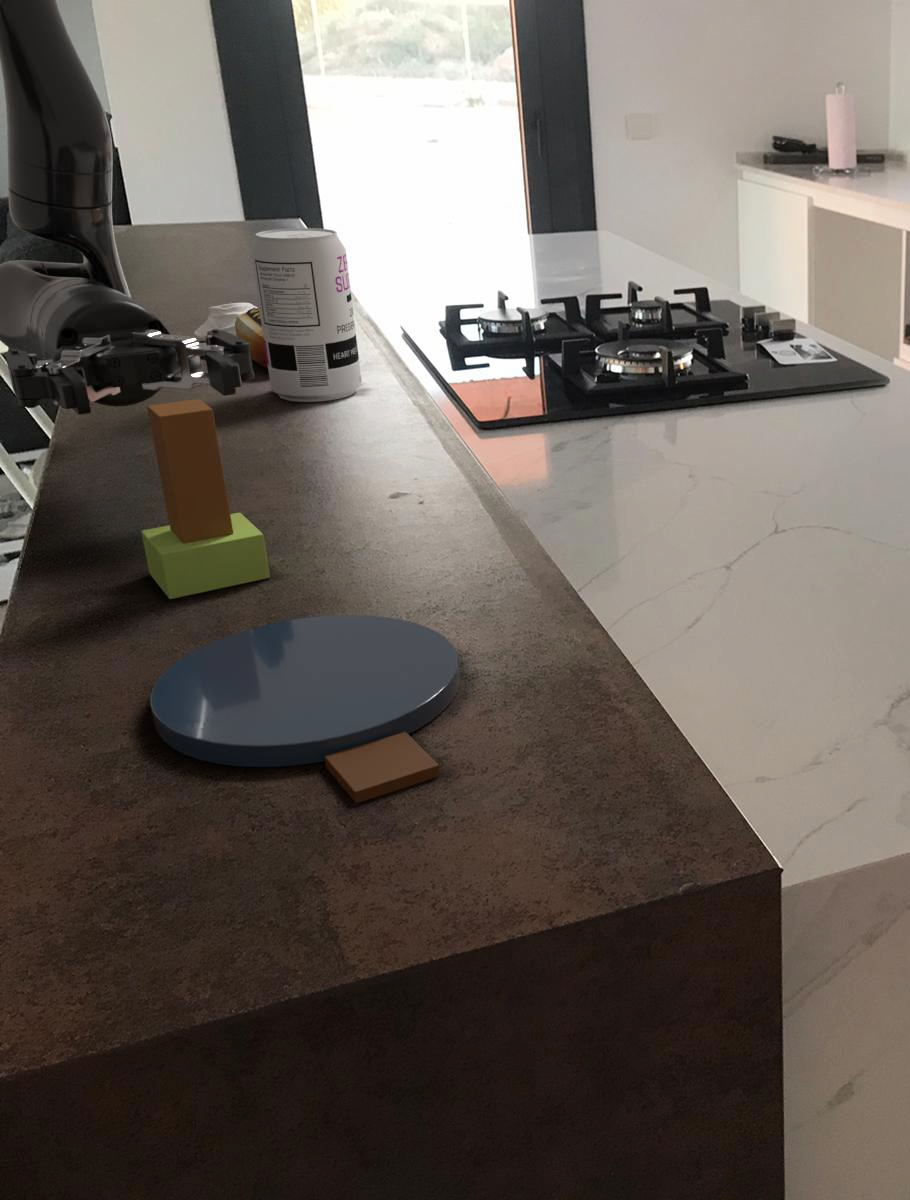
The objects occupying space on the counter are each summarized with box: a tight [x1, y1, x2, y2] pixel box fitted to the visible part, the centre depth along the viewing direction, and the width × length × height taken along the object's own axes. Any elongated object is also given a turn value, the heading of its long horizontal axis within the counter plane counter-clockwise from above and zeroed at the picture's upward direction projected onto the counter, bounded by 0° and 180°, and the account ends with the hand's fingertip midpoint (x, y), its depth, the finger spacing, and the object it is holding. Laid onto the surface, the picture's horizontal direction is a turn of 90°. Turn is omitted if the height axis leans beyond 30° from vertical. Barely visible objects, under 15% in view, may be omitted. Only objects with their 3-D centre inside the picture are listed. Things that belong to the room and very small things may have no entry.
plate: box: [149, 614, 461, 768], centre depth 67 cm, size 15×15×1 cm
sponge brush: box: [140, 398, 271, 600], centre depth 79 cm, size 6×5×11 cm
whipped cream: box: [193, 302, 258, 342], centre depth 143 cm, size 8×7×5 cm
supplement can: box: [250, 227, 363, 403], centre depth 121 cm, size 8×8×15 cm
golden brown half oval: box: [235, 307, 268, 370], centre depth 134 cm, size 5×13×5 cm, turn 32°
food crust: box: [324, 732, 441, 804], centre depth 60 cm, size 4×4×1 cm
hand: (157, 388), depth 80 cm, fingers open, 8 cm apart
